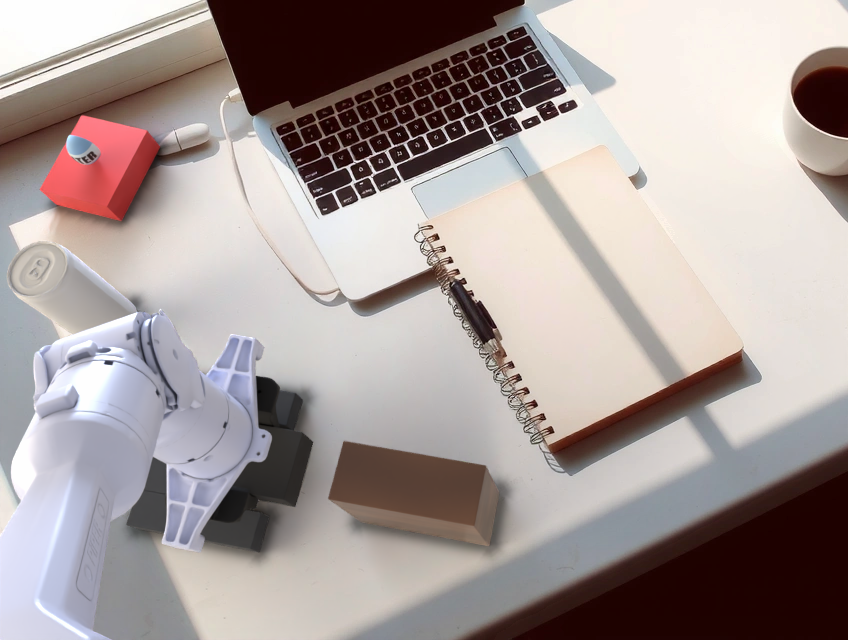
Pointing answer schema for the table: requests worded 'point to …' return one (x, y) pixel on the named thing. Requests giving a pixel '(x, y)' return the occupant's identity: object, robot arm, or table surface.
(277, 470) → the black pad
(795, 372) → the table surface
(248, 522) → the base pad
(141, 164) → the red slab
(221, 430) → the robot arm
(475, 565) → the table surface
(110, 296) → the beverage can
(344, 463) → the brown wooden brick
